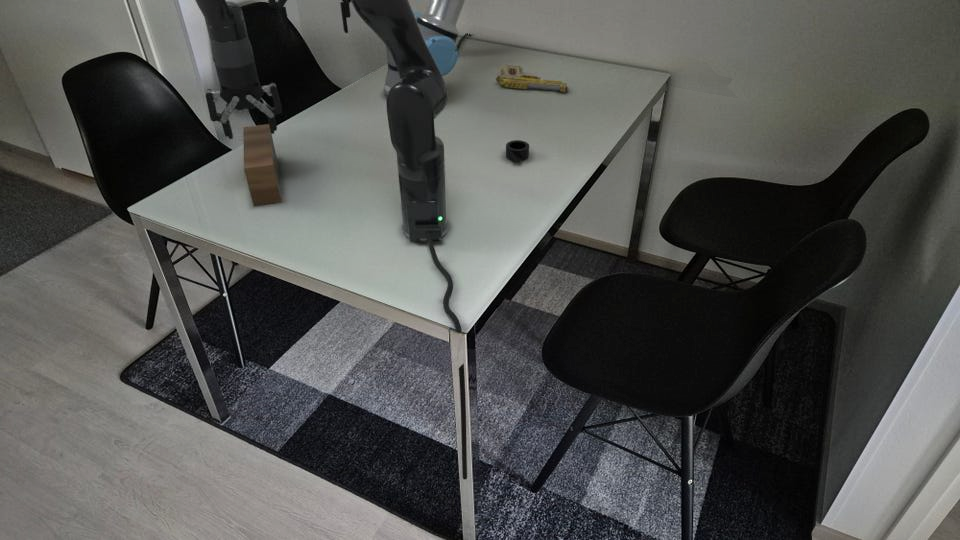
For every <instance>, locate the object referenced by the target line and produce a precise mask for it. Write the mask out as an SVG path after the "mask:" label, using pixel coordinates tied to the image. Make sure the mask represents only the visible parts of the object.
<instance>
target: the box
mask: <svg viewBox="0 0 960 540" xmlns="http://www.w3.org/2000/svg"><path fill="white" fill-rule="evenodd" d="M242 130H243V132H242V134H243V135H242V137H243V141H242V142H243V170H244V171H243V172H244V174H245V178H246V182H247V185H248V189H249V193H250V198H251V201H252V205H253V207H258V206H265V205H272V204H281V203H282V202H283V201H282V193H281V183H280V176H279V175H280V174H279V163H278V156H277V152H276V148H275V144H274V138H273V134H271V131H270V126H269V123H267V124H257V125H250V126H249V125H248V126H243V127H242Z"/></svg>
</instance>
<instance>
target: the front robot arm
mask: <svg viewBox="0 0 960 540" xmlns="http://www.w3.org/2000/svg"><path fill="white" fill-rule="evenodd" d="M194 1H195V4H196V5H197V7H198V9H199V10H200V12H201V13H202V16H203V18H204V22H205V26H206V31H207V34H208V38H209V44H210V51H211V55H212V61H213V63H214V67H215V71H216V74H217V78H218V82H219V86H220V89H219V90H213V89H211V88H208V89H206V91H205V99H206V104H207V109H208V114H209V120H210V121H211V122H219V123H221V127H222V131H223V134H224V137H227V138H228V139H229V140H233V139H234V134H233V131H232V130H233V129H232V126H231V122H230V119H229V118H230V116H231V115H232V113H233V111H234V110H237V111H238V112H239V111H243V110H254V108H257V109H258V110H259V111H260V112H262V113H264V114H265V115H266V117H267V121H268V124H269V126H270V131H271V134H272V135H275V132H277V129H278V126H277V125H278V124H277V121H276V116H277V115H282V113H283V107H282V103H281V99H280V95H279V91H278V87H277V83H276V82H273V81H272V82H270V83H269V84H267V85H262V84H261V83H260V79H259V75H258V70H257V66H256V61H255V55H254V51H253V47H252V43H251V41H250V38H249V34H248V30H247V26H246V21H245V17H244V13H243V9H242V8H241V6H240V5H239V4H238V3H236V2H234V1H230V0H229V1H228V0H194ZM350 3H351V4H352V6H353V9H354V10H355V12H356V13H357V14H358V16H359V17H360V18H361V19H362V21H363V22H364V23H365V24H366V25H367V27H369V28H370V29H371V30H372V32H374V33H375V35H377V37H378V38H379V39H380V40H381V41H382V42H383V43H384V45H385V47H386V46H387V48H388V49H389V51H390V53H391V55H392V57H393V59H394V62H395V64H396V67H397V69H398V72H399V75H400V78H401V79H400V80H399V81H398V82H397V83H396V84H394V85H393V86H392V87H391V89H390V90H389V92H388V95H387V98H386V115H387V124H388V129H389V137H390V141H391V145H392V147H393V149H394V151H395V153H396V154H395V155H396V163H397V176H398V185H399V197H400V208H401V218H402V219H401V220H402V233H403V234H404V236H405V237H406V238H407V239H408V240H409V242H410V243H427V245H428V249H429V252H430V256H431V258H432V260H433V263H434V266H436V268H437V270H439V271H440V273H441V274H442V275H443V276H444V277H445V279H446V282H447V287H446V290H445V293H444V296H443V300H442V304H443V310H444V312H445V314H447V315H448V317H449V318H450V319H451V321H452V323H453V325H454V328H455V332H456V333H457V334H461V333H462V330H463V329H462V326H461V322H460V320H459V318H458V316H457V315H456V314H455V312H453V310H452V309H451V308H450V305H449V300H450V297H451V294H452V291H453V288H454V283H453V277H452V276H451V274H450V273H449V272H448V271H447V269H445V267H444V266H443V265H442V263H441V262H440V260H439V258H438V255H437V252H436V249H435V245H434V242H435V243H436V242H440V241H441V239H443V237H444V236H446V234H447V232H448V229H449V227H448V225H449V224H448V214H447V190H446V188H447V187H446V166H445V165H446V164H445V163H446V162H445V145H444V142H443V140H442V139H441V138H440V137H438V136H436V129H435V119H436V118H438V116H439V115H440V114H441V113H442V112H443V111H444V109H446V107H447V103H448V100H449V93H448V88H447V85H446V82H445V79H444V78H443V77H444V76H442V75H441V73H440V71H439V69H438V67H437V65H436V63H435V61H434V59H433V57H432V55H431V53H430V51H429V49H428V47H427V45H426V43H425V41H424V39H423V36H422V34H421V32H420V29H419V26H418V24H417V21H416V19H415V16H414V13H413V12H414V11H413V9H412V6H411V3H410V2H409V0H351V2H350ZM264 93H266V95H267V96H269V97H271V98H272V101H273V105H274V106H273V107H271V106H270V105H269V104H268V103H267V102H266V100H264V99H263V98H262V97H263V95H264ZM219 97H220V98H221V100H223V101H224V102H226V103H225V105H224V107H223V110H222V112H221V113H220V112H217V107H216V103H217V102H218V101H219V100H218V99H219ZM465 375H466V374H465V363H464V362H463V363H462V364H461V365H460V366H459V367H458V381H459V399H460V403H459V404H460V430H461V432H460V434H461V437H460V438H461V439H460V440H461V472H462V474H461V475H462V479H463V480H467V479H468V451H467V450H468V449H467V448H468V447H467V446H468V445H467V401H466V379H465V378H466V377H465Z"/></svg>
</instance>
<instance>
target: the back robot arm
mask: <svg viewBox="0 0 960 540" xmlns="http://www.w3.org/2000/svg"><path fill="white" fill-rule="evenodd" d="M465 1H466V0H429V1H428V5H427V7H426V10H425V11H424V12H423V13H422V12H418V11H417V12H416V11H413V13H414V16H415V19H416V21H417V24H418V26H419V29H420V32H421V34H422V36H423V39H424V41H425V43H426V45H427V47H428V49H429V51H430V53H431V55H432V57H433V59H434V61H435V63H436V65H437V67H438V69H439V71H440V73H441V75H442V77H444V76H446V75H448V74H449V73H450V72H451V71H452V70H453V69H454V67H455V66H456V64H457V61H458V57H459V51H458V49H459V48H460V45H461V43H462V41H463V40H465V38H466V37H467V36H468V37H472V34H471V33H469V32H467V33H465V34H464V35H462V37H461V38H460V39H459V40H458V43H457V44H456V41H457V39H458V36H459V31H458V28H457V23H458V20H459V17H460V14H461V12H462V9H463V6H464V4H465ZM287 2H288V0H268V1H267V3H268V7H269V8H273V9H275V10H276V11H277V14H278V20H279V23H280V24H285V29H286V30H285V31H286V35H287V39H292V35H291V30H290V28H291V27H290V23H289V18H288V12H287V8H286V6H285V5H286V4H287ZM350 3H352V2H351V0H341V1H340V2H339V5H340V12H341V13H340V14H341V20H342V28H343V31H344V33H345V34H348V33H349V28H348V20H347V19H348V18H351V8H350V7H351V6H350V5H351V4H350ZM468 33H469V35H468ZM385 51H386V60H387V73H386V77H385V83H384V86H383V93H384V94H383V95H384V97H385V98H386V99H387V95H388V92H389V90H390V89H391V87H392V86H393V85H394V84H396V83H397V82H398V81H399V80H400V79H401V78H400V75H399V72H398V69H397V67H396V64H395V62H394V59H393V57H392V55H391V53H390V51H389V49H388V48H387V46H386V45H385Z"/></svg>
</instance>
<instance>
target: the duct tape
mask: <svg viewBox="0 0 960 540" xmlns="http://www.w3.org/2000/svg"><path fill="white" fill-rule="evenodd" d="M529 157H530V144H529V143H528V142H527V141H525V140H518V139H517V140H516V139H515V140H514V139H513V140H510V141H508V142H506V143H505V158H506V159H507V160H509V161H511V162H518V163H523V162H524V161H527V160H528V159H529Z"/></svg>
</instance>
